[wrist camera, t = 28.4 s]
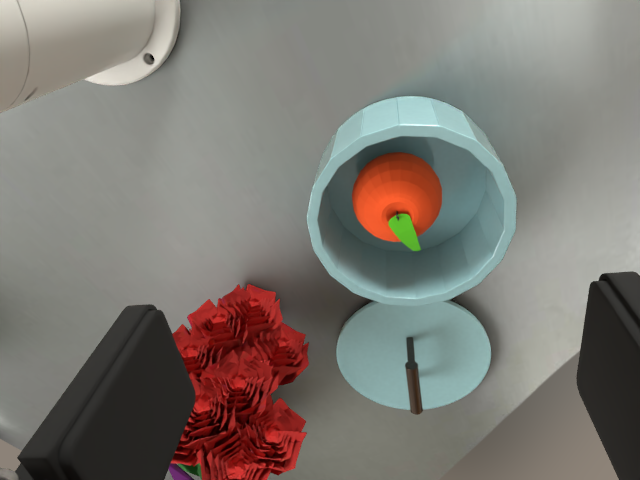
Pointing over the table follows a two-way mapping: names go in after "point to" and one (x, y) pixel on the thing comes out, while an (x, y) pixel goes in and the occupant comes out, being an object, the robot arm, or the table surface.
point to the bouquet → (239, 389)
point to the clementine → (397, 198)
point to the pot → (449, 227)
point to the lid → (413, 354)
